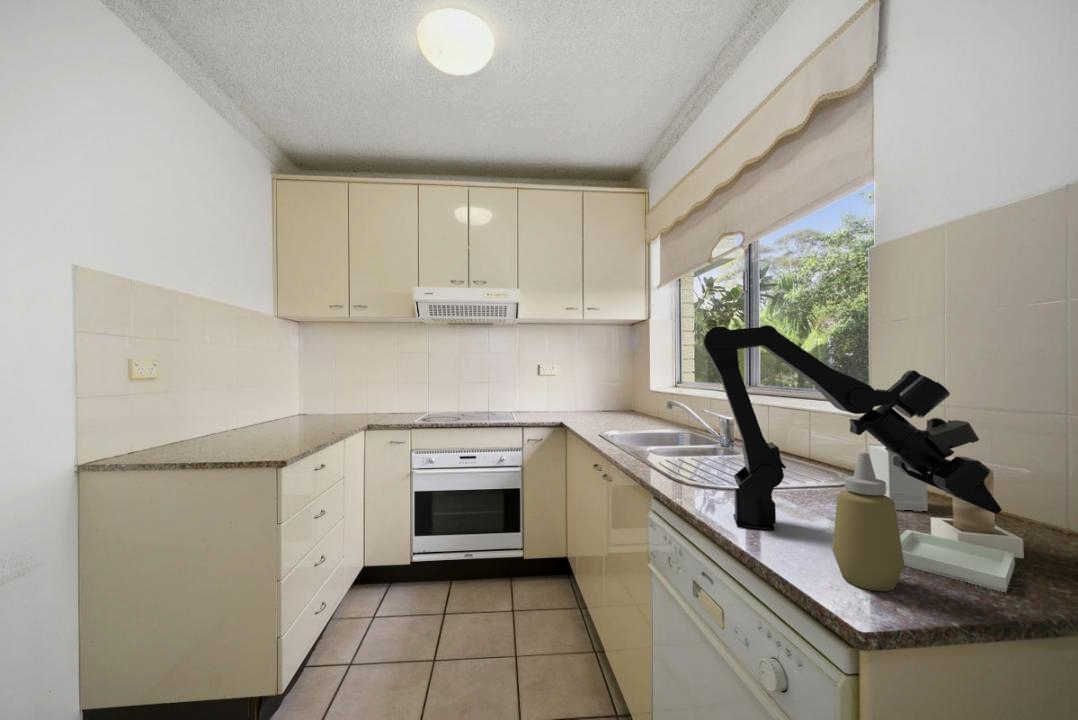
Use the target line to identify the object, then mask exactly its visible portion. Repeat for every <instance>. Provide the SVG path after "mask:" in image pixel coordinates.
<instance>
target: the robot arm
mask: <svg viewBox="0 0 1078 720" xmlns="http://www.w3.org/2000/svg"><path fill="white" fill-rule="evenodd" d="M702 347H703V349H704V352H705V353H706V356H707V357H708V359H709V361H710V362H711V364H712V365H713V367H714V368H715V370H716V372H717V373H718V376H719V377H720V381H721V384H722V386H723V389H724V392H725V395H726V397H727V401H728V404H729V406H730V410H731V412H732V415H733V418H734V421H735V424H736V427H737V428H738V433H739V435H740V438H741V444H742V454H743V455H742V456H743V461H744V467H742V468H741V469H740V470H739V471H738V472H736V473H735V474H734V476H733V478H734V480H735V482H736V483H735V484H736V485H737V486H738V487H737V488H734V490H733V491H734V514H733V520H734V522H735V525H736V526H737V527H739V528H747V529H748V528H749V529H758V530H766V531H767V530H768V531H775V530H776V528H775V527H776V526H774V525H776V524H777V522H776V521H777V512H776V509H777V508H776V502H775V501H774V499H773V491H774V489H775V488H777V487H778V486H779V485H781V484H782V482H783V480H784V476H785V475H784V474H785V473H784V470H783V469H787V466H786V465H785V463H783V461H782V458H781V452H780V448H779V447H778V446H777V445H776V444H775V443H774V442H773V441H771V442H767V441H766V439H765V437H764V435H763V432H762V429H761V427H760V424H759V421H758V418H757V415H756V413H755V410H754V408H753V405H752V402H751V399H750V395H749V392H748V389H747V388H746V384H745V381H744V379H743V376H742V373H741V370H740V364H739V352H738V350H741V349H742V350H743V349H748V348H749V349H750V348H757V347H759V348H762V349H764V350H765V351H766V352H768V353H769V354H771V355H772V356H774V357H775V358H776V359H778V360H779V361H780V362H781V363H783V364H785V365H786V366H788V367H789V368H791V370H793V371H795V372H796V373H798V374H799V375H800V376H802V377H803V378H805V379H806V380H808V381H809V382H810V383H811V384H813V385H814V386H815V387H816V389H818V391H819V392H820V394H821V395H822V396H823V397H824V398H825V399H826V400H827V401H828V402H829V403H830V404H831V405H832V406H833V407H834V408H836V409H838V410H839V411H842V412H847V413H850V414H854V415H861V416H860V417H859V418H850V419H849V424H850V425H849V426H850V427H849V432H850V434H854V435H857V436H860V435H862V434H863V433H864V432H868V433H869V434H870V436H872V437H873V438H874V439H876V440H877V441H878V443H880V444H882V446H885V447H886V448H885V449H886V450H887V451H888V452H889V453H891V454H894V455H896V456H895V457H894V458H893V465H894V466H896V467H897V468H898V469H899V470H900V471H901V472H904V473H906V474H907V475H909V476H911V477H913V478H916V479H918V480H920V481H922V482H925V483H927V485H930V486H932V487H935V488H937V489H938V490H941V491H944V492H945V493H946V494H949V495H951V496H952V495H953V496H955V497H957V498H960V499H962V500H964V501H967V502H969V503H971V504H974V505H976V506H978V507H981V508H983V509H985V510H988V511H990V512H992V513H994V514H995V515H997V514H999V513H1001V512H1002V511H1003V509H1002V508H1001V506H1000V504H999V503H998V502H997V500H996V499H995V497H994V498H993V496H992V495H991V493H990V492H989V490H988V489H987V487H986V486H985V484H984V481H985V478H987V477H988V474H989V473H990V468H988V467H987V466H986V464H984V463H983V462H982V461H980V460H977V459H974V458H970V457H967V456H954V457H953V458H952V459H951V460H949V459H947V458H950V457H951V456H952V455H953V454H955V451H954V450H953V449H954V448H959V447H961V446H965V445H967V444H969V443H971V444H972V443H977V442H979V441H980V438H979V437H978V435H977V433H976V432H975V430H974V428H973V427H972V425H971V424H970V422H969V421H964V420H958V419H955V420H954V419H953V420H949V419H948V420H947V421H945V420H944V419H942V418H940V417H933V418H930V419H927V420H926V428H925V430H924V429H923V430H922V429H918V428H917V427H916V426H915V425H914V424H912V423H911V422H910V421H909V420H907V419H906V418H909V419H912V418H913V417H914V416H915V417H917V418H919V419H921V418H922V419H923V418H924V417H925V416H927V414H929V413H930V412H931V411H932V410H934V409H935V408H937V406H938V405H940V404H942V402H943V401H945V400H946V399H947V398H948V397H950V395H951V393H950V392H949V390H948V389H947V388H946V387H945V386H944V385H942V384H941V383H940V382H938V381H935V380H933V379H931V378H930V377H928V376H925V375H922V374H921V373H919V372H918V371H916V370H907V371H906V372H904V373H903V374H902V376H901V377H900V378H899V379H898V380H897V381H896V382H895V383H894V384H893V385H891V386H890V387H889V388H888V389H881V388H879V389H878V388H876V389H874V387H872V386H871V385H870V384H868V383H865V382H864V381H861V380H860V379H857V378H855V377H853V376H850V375H849V374H848V375H847V374H845V373H843V372H840V371H837V370H836V369H834V368H831V367H829V366H828V365H827V364H826V363H824V362H822V361H821V360H819V359H818V358H816V357H815V356H814V355H812V354H810V353H809V352H808V351H806V350H805V349H803V348H802V347H800V346H799V345H798V344H796V343H795V342H793V341H792V340H790V338H787V337H786V336H785V335H783V334H781V333H780V332H779V331H778V330H777V328H775V327H774V326H771V325H761V326H758V327H747V328H746V327H745V328H737V329H736V328H735V329H729V328H727V327H726V326H719V325H718V326H715V327H713V328H710V329H709V330H708V331H707V332H706V333H705V335H704V337H703V340H702ZM875 407H877V408H875ZM874 408H875V409H874ZM902 415H903V416H902ZM905 417H906V418H905ZM908 469H909V470H910V471H909V470H908ZM953 496H952V497H953Z"/></svg>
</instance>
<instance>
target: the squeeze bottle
mask: <svg viewBox="0 0 1078 720" xmlns="http://www.w3.org/2000/svg"><path fill="white" fill-rule="evenodd" d="M853 472H854V473H853V475H848V476H845V477H844V489H845V490H843V491H841V492H839V493H837V498H836V506H835V507H836V509H835V519H834V527H833V529H834V530H833V531H834V532H833V539H832V540H833V541H832V552H833V555H834V558H835V561H836V564H837V565H838V566H837V567H838V568H839V571H840V574H841V576H842V578H843V579H844V580H845V581H846V582H848V583H850V584H852V585H853V586H856V587H859V588H862V589H865V590H871V591H876V592H890V591H893V590H894V589H895V587H896V586H897V583H898V580H899V579H900V576H901V573H902V571H903V569H904V567H905V566H904V559H903V553H902V546H901V540H900V536H901V534H900V528H899V527H900V526H899V523H898V521H899V520H898V515H897V510H896V507H895V503H894V501H893V500H892V499H890V498H889V497H887V496H885V495H884V494H886V483H885V482H884V481H882V480H880V479H876V477H875V473H874V470H873V466H872V463H871V459H870V453H867V452H866V453H865V452H858V456H857V460H856V464H855V468H854V471H853Z"/></svg>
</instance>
